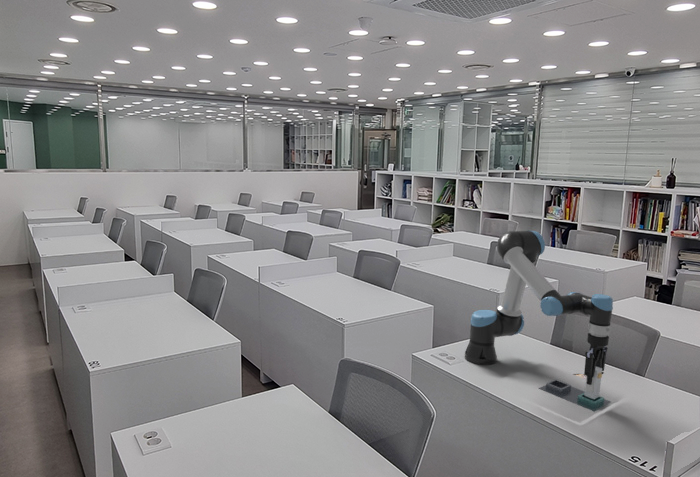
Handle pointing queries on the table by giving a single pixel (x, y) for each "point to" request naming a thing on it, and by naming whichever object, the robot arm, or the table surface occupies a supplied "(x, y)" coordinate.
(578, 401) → the panel
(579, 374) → the smartphone
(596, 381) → the plug
